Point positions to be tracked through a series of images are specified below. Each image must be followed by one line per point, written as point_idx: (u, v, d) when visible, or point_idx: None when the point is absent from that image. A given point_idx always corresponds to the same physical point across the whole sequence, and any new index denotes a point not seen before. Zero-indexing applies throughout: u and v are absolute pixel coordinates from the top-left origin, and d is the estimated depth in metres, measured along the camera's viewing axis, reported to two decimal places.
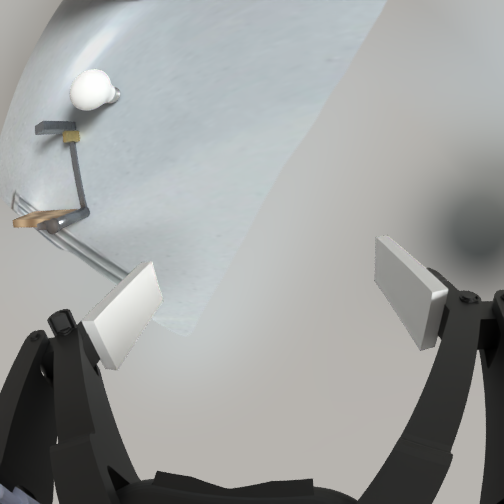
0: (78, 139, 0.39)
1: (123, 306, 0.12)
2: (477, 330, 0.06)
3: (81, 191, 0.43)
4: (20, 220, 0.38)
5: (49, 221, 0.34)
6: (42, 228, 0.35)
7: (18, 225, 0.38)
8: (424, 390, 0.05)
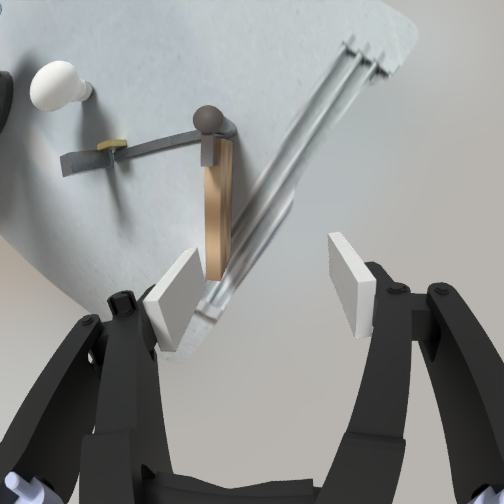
0: (122, 140, 0.31)
1: (179, 288, 0.13)
2: (409, 318, 0.07)
3: (193, 132, 0.30)
4: (207, 252, 0.27)
5: (196, 120, 0.20)
6: (210, 148, 0.21)
7: (216, 262, 0.27)
8: (362, 383, 0.05)
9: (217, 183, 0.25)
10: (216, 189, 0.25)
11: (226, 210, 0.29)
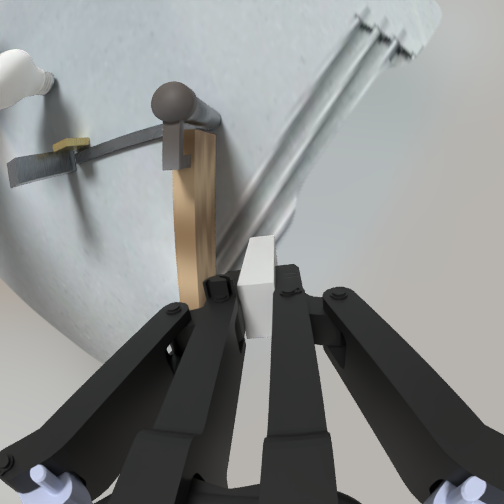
0: (84, 138, 0.23)
1: None
2: (307, 317, 0.08)
3: None
4: (180, 284, 0.20)
5: (155, 103, 0.13)
6: (175, 143, 0.14)
7: (193, 297, 0.20)
8: (271, 387, 0.06)
9: (190, 193, 0.17)
10: (189, 201, 0.18)
11: (206, 226, 0.22)
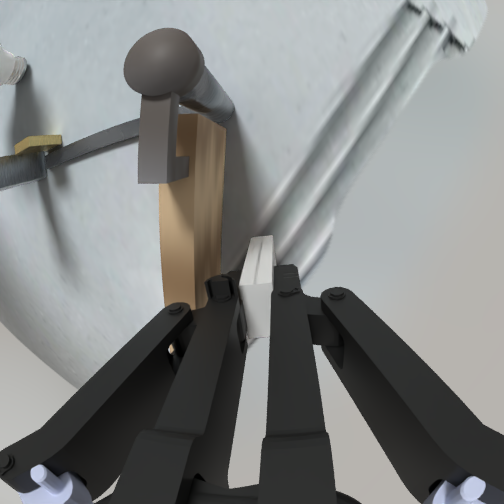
0: None
1: None
2: (305, 317, 0.09)
3: None
4: None
5: (130, 65, 0.06)
6: (161, 135, 0.07)
7: None
8: (269, 387, 0.06)
9: (187, 220, 0.11)
10: (186, 233, 0.11)
11: (210, 262, 0.15)
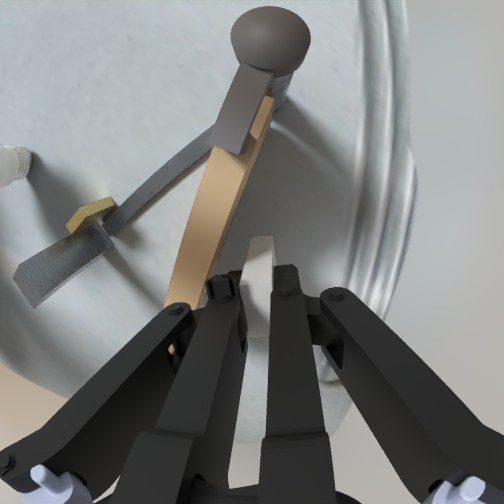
0: None
1: None
2: (305, 317, 0.09)
3: None
4: None
5: (241, 28, 0.06)
6: (249, 106, 0.07)
7: None
8: (269, 388, 0.06)
9: (228, 196, 0.11)
10: (222, 208, 0.11)
11: (222, 242, 0.15)
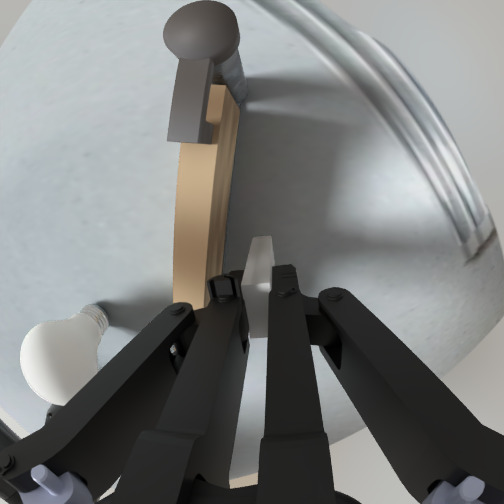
0: None
1: None
2: (303, 318, 0.09)
3: None
4: None
5: (171, 29, 0.06)
6: (196, 96, 0.07)
7: None
8: (267, 388, 0.06)
9: (206, 187, 0.11)
10: (203, 200, 0.11)
11: (218, 237, 0.15)
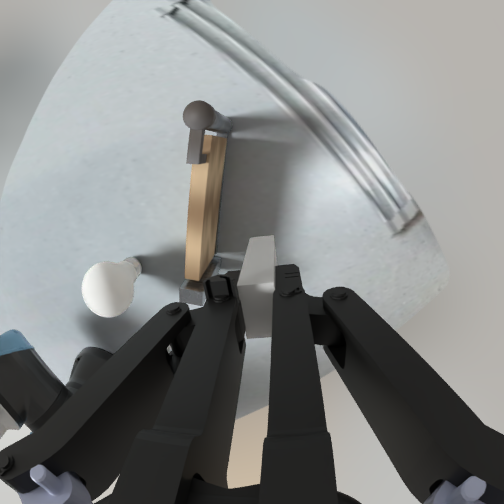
0: None
1: None
2: (307, 317, 0.08)
3: None
4: (187, 250, 0.26)
5: (186, 115, 0.19)
6: (197, 145, 0.20)
7: (196, 261, 0.26)
8: (271, 387, 0.06)
9: (203, 182, 0.24)
10: (202, 188, 0.24)
11: (212, 209, 0.28)
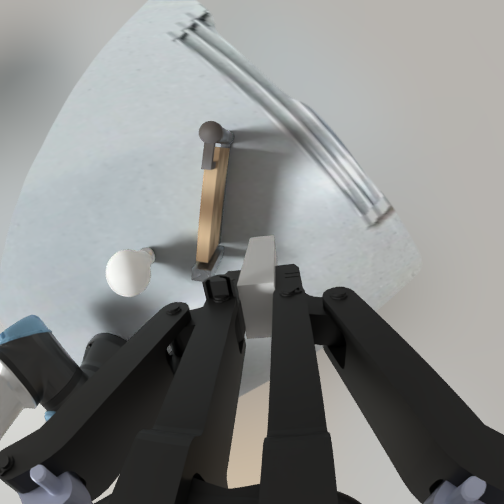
0: None
1: None
2: (307, 317, 0.08)
3: None
4: (199, 238, 0.33)
5: (201, 131, 0.26)
6: (210, 155, 0.27)
7: (205, 246, 0.33)
8: (271, 387, 0.06)
9: (213, 183, 0.31)
10: (212, 188, 0.31)
11: (218, 205, 0.35)
